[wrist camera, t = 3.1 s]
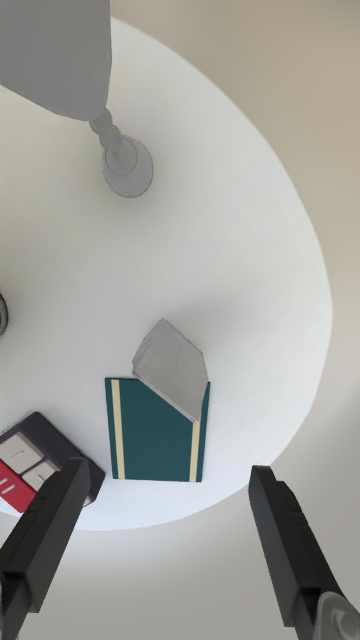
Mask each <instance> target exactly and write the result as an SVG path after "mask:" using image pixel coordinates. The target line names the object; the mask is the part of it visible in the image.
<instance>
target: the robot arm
mask: <svg viewBox="0 0 360 640" xmlns="http://www.w3.org/2000/svg"><path fill="white" fill-rule="evenodd" d="M6 322H7V313H6V308H5V305H4V302H3V300H2V298H1V296H0V336H1V334H2V333H3V331H4V329H5V327H6ZM90 482H91V479H90V472H89V464H88V459H87V458H80V457H71V458H69V459H68V461H67V462H66V464H65V466H64V467H63V469H62V471H55V472H54V473H53V474H52V475H50V476H49V477H48V478H47V479H46V480H45V481H44V482H43V484H42V485H41V487H40V488H39V490H38V491H37V493H36V495H35V496H34V499H33V500H32V501H31V502H30V504H29V505H28V507H27V509H26V511H25V513H23V515H22V516H21V518H20V519H19V521H18V523H17V524H16V526H15V527H14V529H13V530H12V532H11V533H10V535H9V537H8V538H7V540H6V541H5V543H4V544H3V546H2V548H1V549H0V640H19V631H20V629H21V627H22V624H23V622H24V620H25V618H26V615H27V613H28V612H29V613H30V612H31V613H39V611H40V608H41V606H42V604H43V601H44V599H45V596H46V594H47V592H48V589H49V587H50V584H51V582H52V580H53V577H54V575H55V572H56V570H57V568H58V565H59V563H60V560H61V558H62V555H63V553H64V551H65V548H66V546H67V544H68V541H69V539H70V536H71V534H72V532H73V529H74V527H75V524H76V522H77V520H78V517H79V515H80V512H81V510H82V507H83V505H84V503H85V500H86V498H87V495H88V492H89V488H90ZM248 491H249V500H250V505H251V508H252V512H253V515H254V519H255V522H256V526H257V530H258V533H259V537H260V540H261V544H262V547H263V551H264V555H265V558H266V562H267V566H268V569H269V573H270V576H271V580H272V584H273V587H274V591H275V594H276V598H277V602H278V605H279V609H280V612H281V616H282V620H283V623H284V626H285V627H295V630H296V633H297V636H298V639H299V640H360V613H359V612H358V611H357V610H356V609H355V608H354V606H353V605H352V604H350V602H349V601H348V600H347V598H346V597H345V596H344V594H343V593H342V591H341V589H340V588H339V586H338V584H337V582H336V580H335V578H334V576H333V574H332V572H331V570H330V568H329V565H328V563H327V561H326V559H325V557H324V555H323V553H322V551H321V549H320V547H319V545H318V543H317V541H316V538H315V536H314V534H313V532H312V530H311V528H310V526H309V525H308V522H307V520H306V518H305V515H304V514H303V513H302V509H301V507H300V505H299V503H298V501H297V499H296V497H295V495H294V493H293V492H292V491H291V490H290V488H289V487H288V486H287V485H286V483H285V482H284V481H276V478H275V476H274V474H273V471H272V469H271V468H270V467H269V466H258V465H253V466H252V470H251V476H250V482H249V490H248Z"/></svg>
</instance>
